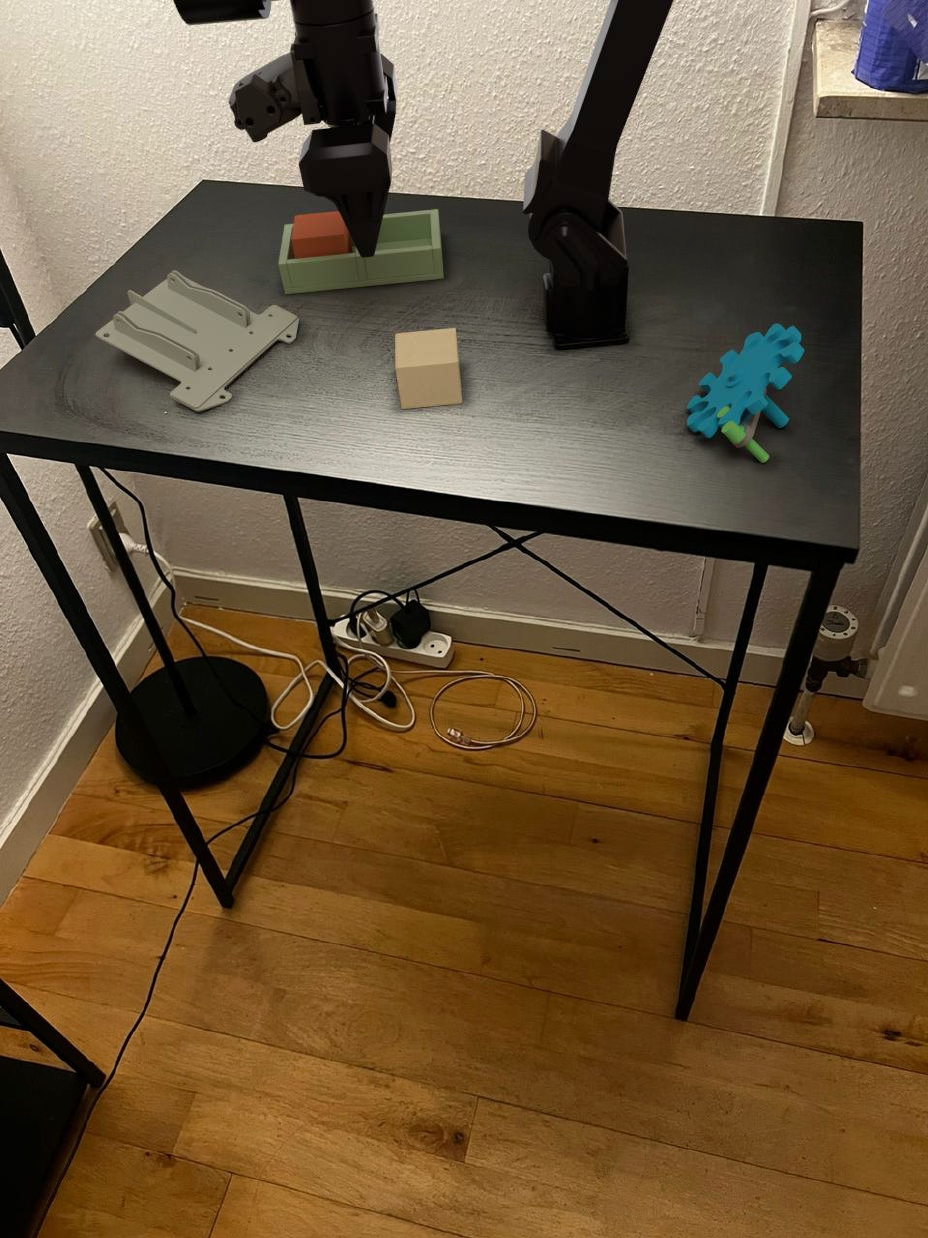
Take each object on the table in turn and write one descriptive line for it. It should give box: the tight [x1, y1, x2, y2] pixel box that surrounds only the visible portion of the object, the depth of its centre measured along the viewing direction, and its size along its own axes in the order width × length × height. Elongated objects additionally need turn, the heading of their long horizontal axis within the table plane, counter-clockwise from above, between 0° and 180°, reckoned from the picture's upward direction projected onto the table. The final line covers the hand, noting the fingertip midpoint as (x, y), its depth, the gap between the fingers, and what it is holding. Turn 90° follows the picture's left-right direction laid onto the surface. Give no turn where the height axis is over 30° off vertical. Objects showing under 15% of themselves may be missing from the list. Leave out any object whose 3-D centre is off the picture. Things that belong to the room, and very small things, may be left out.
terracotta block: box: [291, 210, 352, 259], centre depth 91 cm, size 5×5×4 cm
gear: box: [686, 323, 805, 464], centre depth 70 cm, size 11×6×10 cm
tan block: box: [394, 327, 463, 410], centre depth 77 cm, size 5×5×4 cm
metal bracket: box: [95, 270, 300, 413], centre depth 84 cm, size 14×6×15 cm
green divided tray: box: [277, 208, 445, 295], centre depth 92 cm, size 15×8×3 cm, turn 93°
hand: (370, 228), depth 77 cm, fingers open, 9 cm apart
